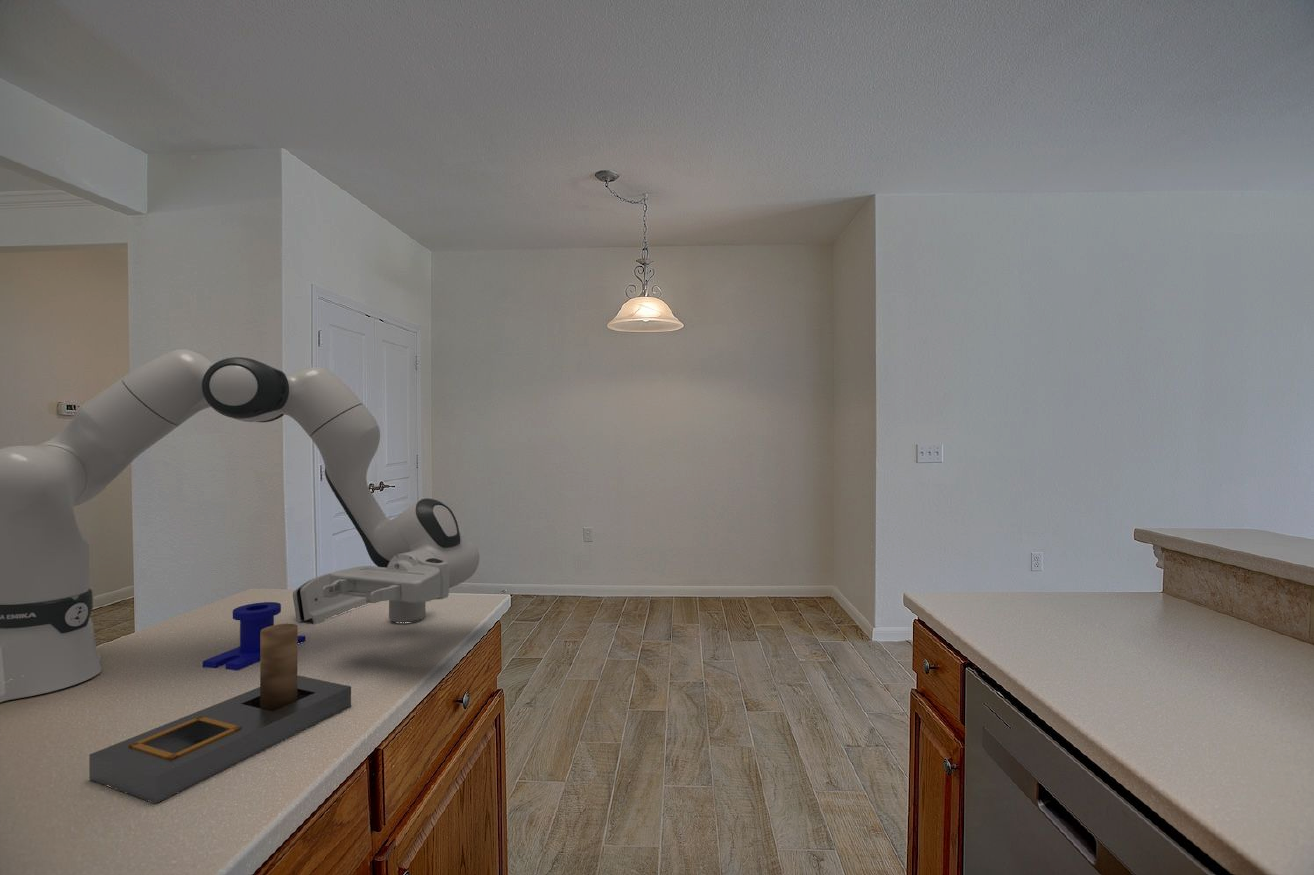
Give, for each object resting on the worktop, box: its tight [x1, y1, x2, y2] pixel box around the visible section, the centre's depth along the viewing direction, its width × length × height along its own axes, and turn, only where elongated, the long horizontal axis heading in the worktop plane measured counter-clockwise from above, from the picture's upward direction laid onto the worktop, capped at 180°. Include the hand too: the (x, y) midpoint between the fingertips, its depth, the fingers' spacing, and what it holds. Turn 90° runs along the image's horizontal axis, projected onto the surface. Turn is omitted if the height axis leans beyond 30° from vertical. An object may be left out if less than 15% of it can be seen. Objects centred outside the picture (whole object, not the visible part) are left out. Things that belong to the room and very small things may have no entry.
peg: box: [259, 623, 299, 712], centre depth 85 cm, size 4×4×13 cm
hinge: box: [292, 572, 369, 624], centre depth 137 cm, size 17×5×10 cm, turn 165°
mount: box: [202, 601, 306, 671], centre depth 111 cm, size 15×8×9 cm, turn 169°
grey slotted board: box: [88, 674, 352, 805], centre depth 79 cm, size 12×26×3 cm, turn 159°
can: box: [388, 600, 426, 623], centre depth 131 cm, size 8×8×12 cm
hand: (346, 595), depth 95 cm, fingers open, 8 cm apart
